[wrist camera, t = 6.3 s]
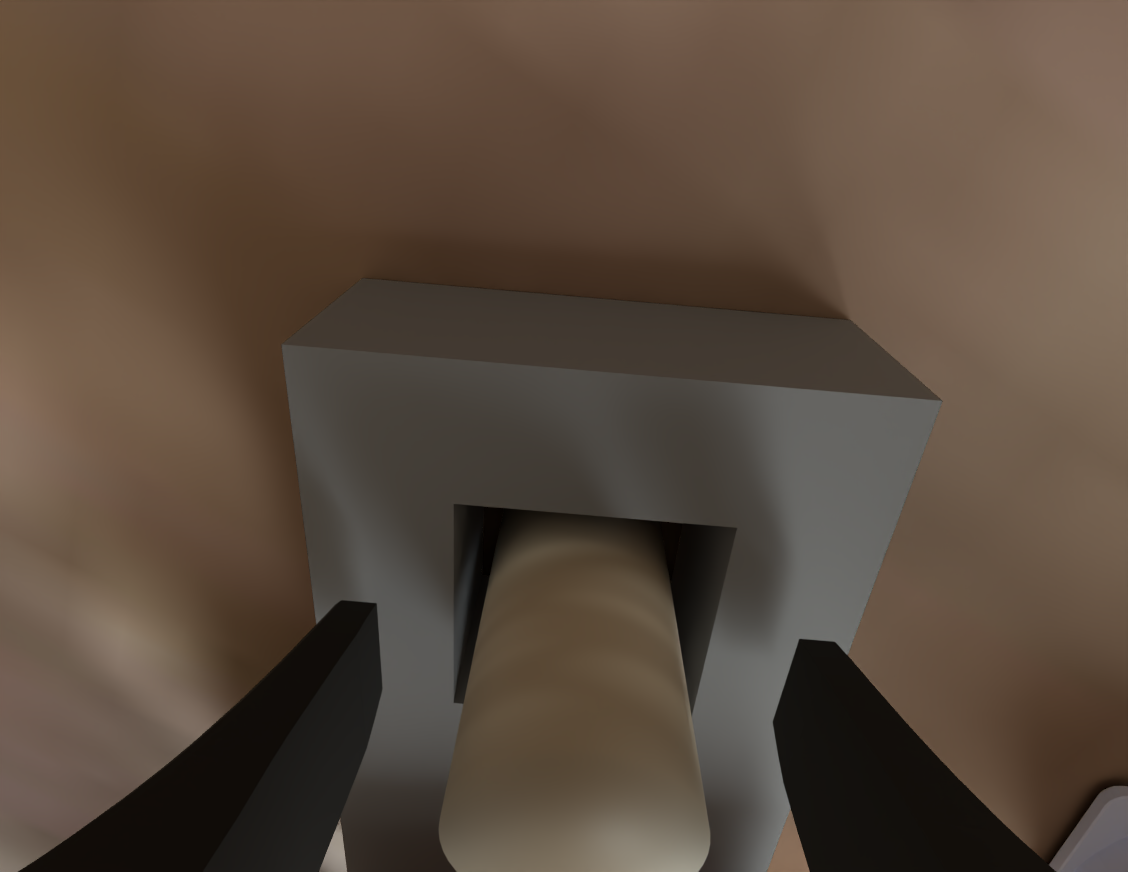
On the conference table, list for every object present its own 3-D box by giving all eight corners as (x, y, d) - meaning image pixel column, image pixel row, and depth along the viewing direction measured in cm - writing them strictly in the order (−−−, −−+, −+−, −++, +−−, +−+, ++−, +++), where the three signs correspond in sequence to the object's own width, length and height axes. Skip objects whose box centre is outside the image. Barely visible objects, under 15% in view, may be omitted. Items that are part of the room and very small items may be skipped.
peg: (667, 447, 15) (736, 766, 8) (644, 572, 17) (684, 927, 10) (510, 432, 15) (438, 739, 8) (502, 559, 17) (437, 904, 10)
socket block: (850, 320, 14) (942, 400, 10) (722, 768, 20) (750, 913, 16) (362, 278, 14) (281, 344, 10) (391, 740, 20) (348, 880, 16)
